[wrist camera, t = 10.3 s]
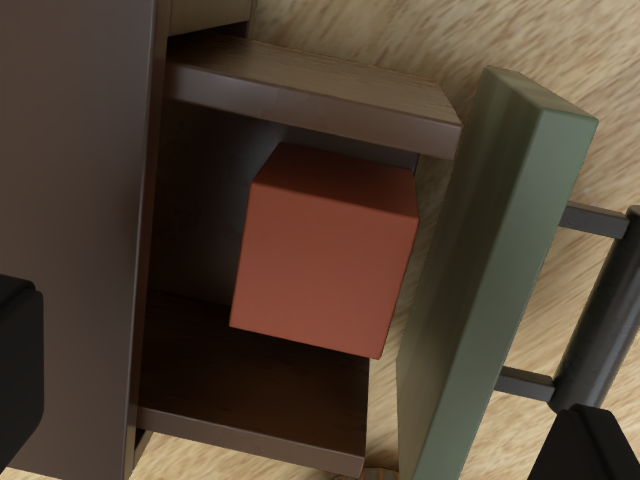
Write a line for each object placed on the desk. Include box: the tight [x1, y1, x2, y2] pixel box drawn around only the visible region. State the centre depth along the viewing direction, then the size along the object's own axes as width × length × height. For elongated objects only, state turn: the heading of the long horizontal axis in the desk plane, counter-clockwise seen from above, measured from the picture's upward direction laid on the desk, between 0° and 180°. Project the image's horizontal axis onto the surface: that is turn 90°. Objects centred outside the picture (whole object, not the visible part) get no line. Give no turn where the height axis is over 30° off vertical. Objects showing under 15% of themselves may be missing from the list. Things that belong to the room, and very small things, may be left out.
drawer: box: [136, 30, 640, 480], centre depth 17 cm, size 18×11×7 cm, turn 79°
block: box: [229, 142, 420, 360], centre depth 17 cm, size 4×4×4 cm
